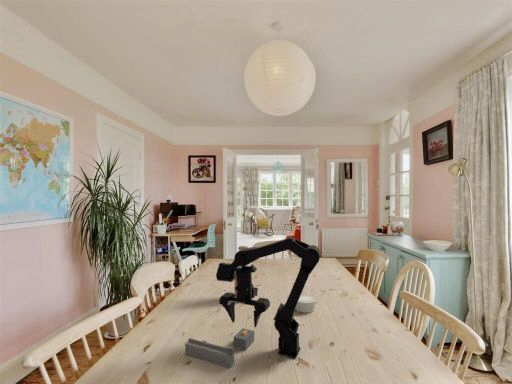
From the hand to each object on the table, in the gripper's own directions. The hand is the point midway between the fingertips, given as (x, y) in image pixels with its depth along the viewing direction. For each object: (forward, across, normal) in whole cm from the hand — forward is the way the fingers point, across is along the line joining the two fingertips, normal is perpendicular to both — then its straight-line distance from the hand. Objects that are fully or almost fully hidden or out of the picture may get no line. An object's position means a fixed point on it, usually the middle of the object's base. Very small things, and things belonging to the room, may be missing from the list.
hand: (244, 324), depth 99 cm
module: (+8, 0, 0) cm, 8 cm away
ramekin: (+8, -14, -39) cm, 42 cm away
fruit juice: (+8, +19, -38) cm, 43 cm away
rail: (+7, +7, +11) cm, 15 cm away
